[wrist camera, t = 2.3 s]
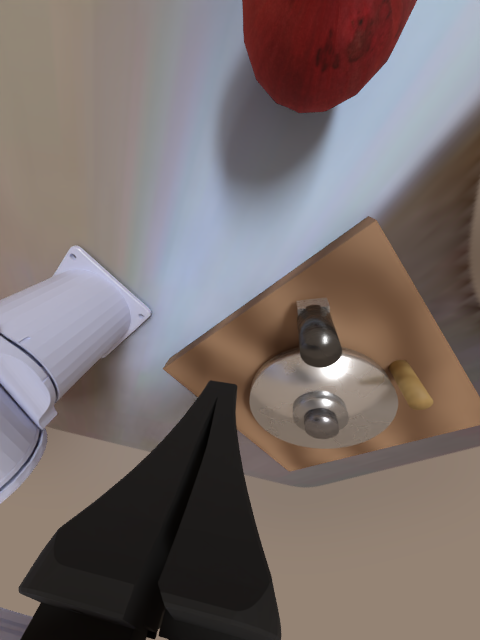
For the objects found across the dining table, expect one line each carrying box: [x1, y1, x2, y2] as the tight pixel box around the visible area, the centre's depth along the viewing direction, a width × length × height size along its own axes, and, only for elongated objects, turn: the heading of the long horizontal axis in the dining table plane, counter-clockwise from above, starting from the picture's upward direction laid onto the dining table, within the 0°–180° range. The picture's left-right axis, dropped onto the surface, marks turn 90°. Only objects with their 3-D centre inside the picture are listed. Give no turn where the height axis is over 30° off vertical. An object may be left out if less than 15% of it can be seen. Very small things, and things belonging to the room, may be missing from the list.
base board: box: [163, 216, 480, 471], centre depth 20 cm, size 21×21×5 cm
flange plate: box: [250, 298, 398, 449], centre depth 18 cm, size 16×12×4 cm
